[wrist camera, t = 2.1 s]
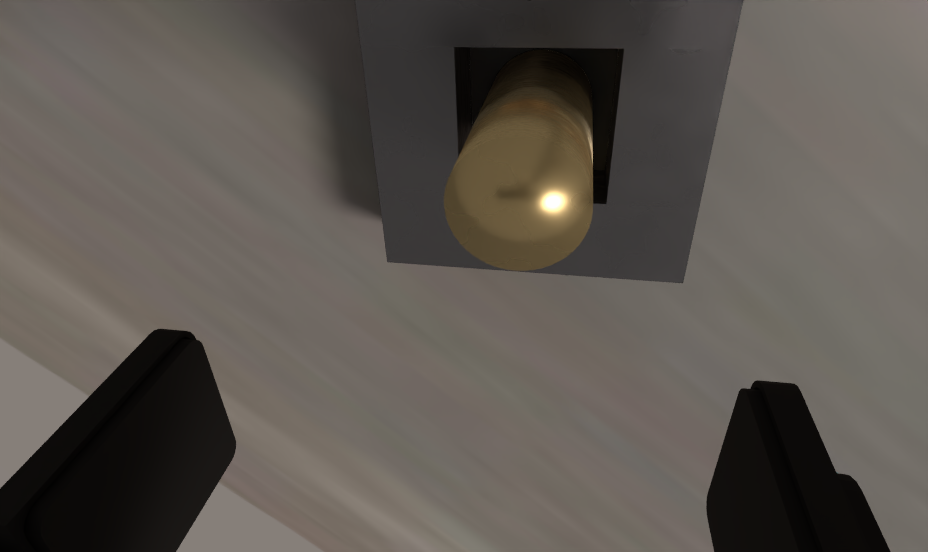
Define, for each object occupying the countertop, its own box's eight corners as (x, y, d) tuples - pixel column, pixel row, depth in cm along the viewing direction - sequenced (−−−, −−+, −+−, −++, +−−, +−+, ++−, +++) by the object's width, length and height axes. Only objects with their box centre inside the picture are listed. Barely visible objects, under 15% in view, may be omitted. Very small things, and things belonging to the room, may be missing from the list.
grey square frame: (737, -80, 19) (758, -73, 16) (674, 244, 26) (683, 283, 23) (375, -71, 21) (347, -64, 18) (405, 227, 28) (387, 262, 25)
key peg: (597, 49, 22) (600, 139, 14) (587, 152, 24) (586, 275, 17) (489, 48, 22) (440, 134, 15) (490, 148, 25) (447, 265, 17)
